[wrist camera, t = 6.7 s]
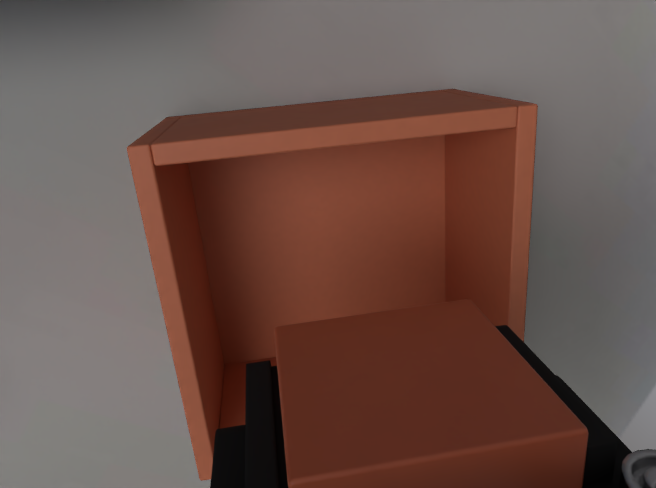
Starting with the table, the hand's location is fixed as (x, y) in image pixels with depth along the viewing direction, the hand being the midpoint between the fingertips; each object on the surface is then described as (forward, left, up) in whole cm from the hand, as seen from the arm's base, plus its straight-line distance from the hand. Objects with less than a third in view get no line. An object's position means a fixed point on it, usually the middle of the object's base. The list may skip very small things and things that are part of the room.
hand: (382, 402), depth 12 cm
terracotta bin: (0, 0, -11) cm, 11 cm away
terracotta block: (0, 0, 0) cm, 0 cm away
